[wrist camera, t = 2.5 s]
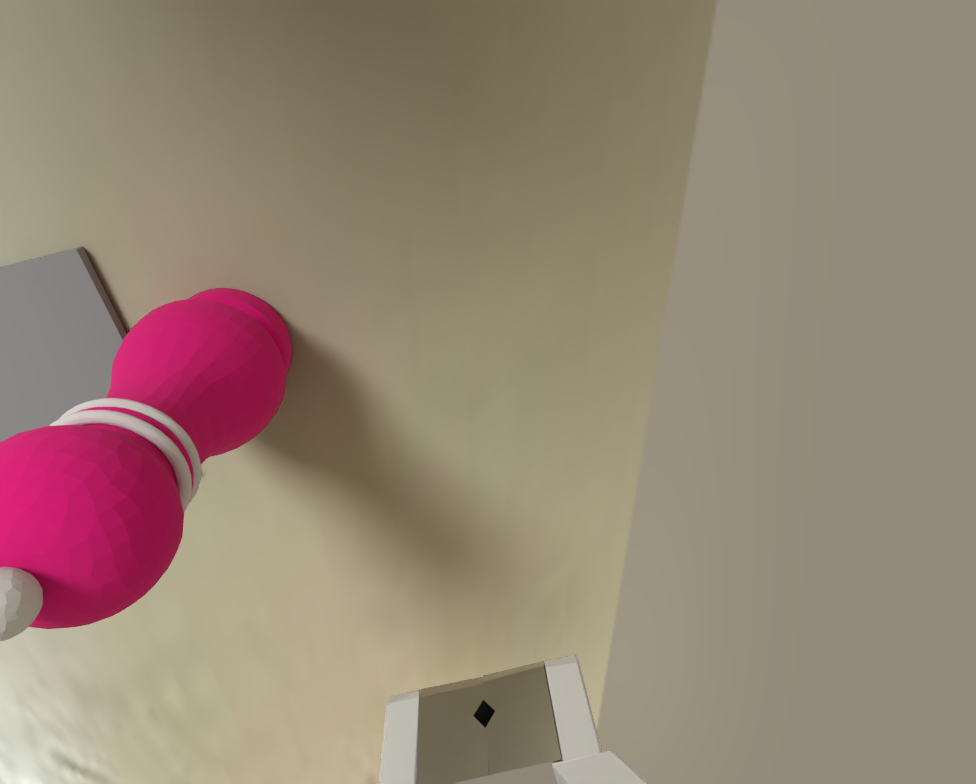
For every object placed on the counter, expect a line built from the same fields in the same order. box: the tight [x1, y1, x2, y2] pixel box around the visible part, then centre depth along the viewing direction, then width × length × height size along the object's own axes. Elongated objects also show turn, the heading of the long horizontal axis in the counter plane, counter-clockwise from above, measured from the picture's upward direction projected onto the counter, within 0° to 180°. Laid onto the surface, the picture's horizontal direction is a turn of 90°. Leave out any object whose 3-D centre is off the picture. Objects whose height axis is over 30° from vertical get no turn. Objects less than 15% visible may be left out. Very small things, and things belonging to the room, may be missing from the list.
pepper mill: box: [0, 288, 293, 641], centre depth 23 cm, size 7×7×20 cm
